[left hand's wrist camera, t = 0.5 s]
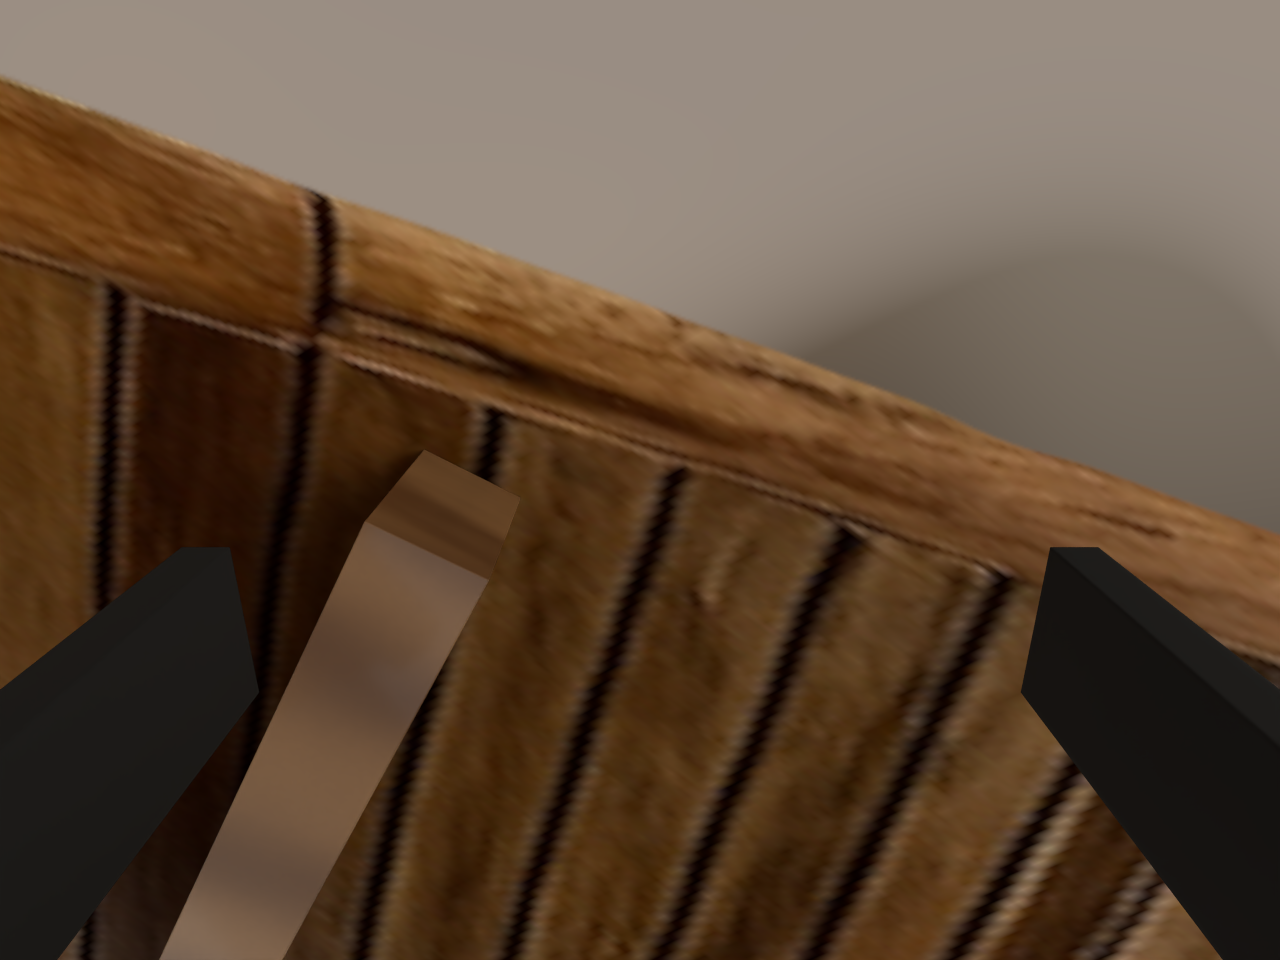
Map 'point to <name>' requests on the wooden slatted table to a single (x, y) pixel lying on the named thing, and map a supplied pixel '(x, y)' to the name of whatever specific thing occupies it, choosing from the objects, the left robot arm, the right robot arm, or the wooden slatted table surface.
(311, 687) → the bar
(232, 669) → the left robot arm
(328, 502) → the wooden slatted table surface
